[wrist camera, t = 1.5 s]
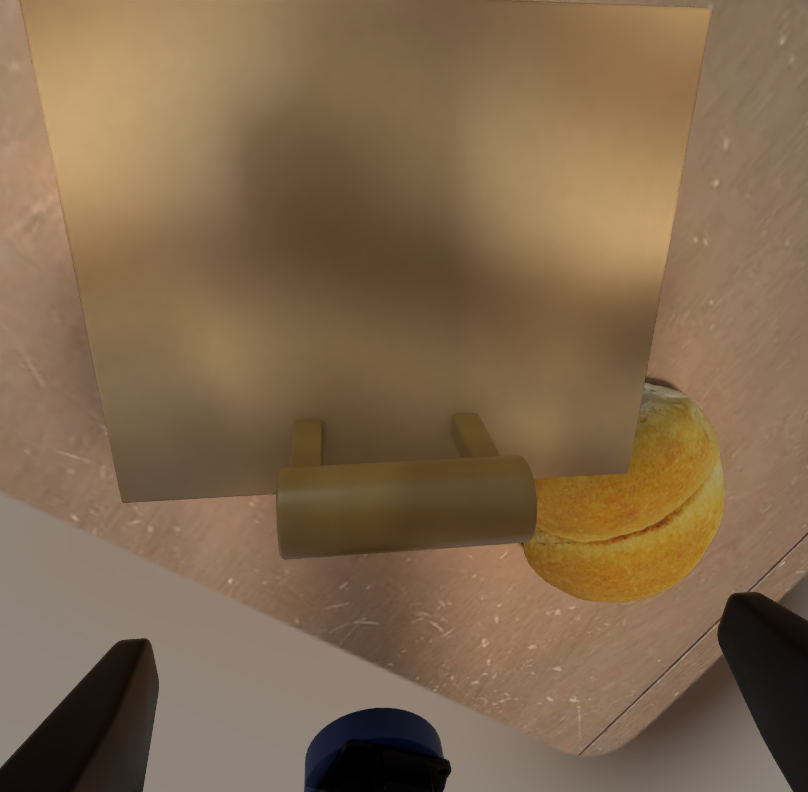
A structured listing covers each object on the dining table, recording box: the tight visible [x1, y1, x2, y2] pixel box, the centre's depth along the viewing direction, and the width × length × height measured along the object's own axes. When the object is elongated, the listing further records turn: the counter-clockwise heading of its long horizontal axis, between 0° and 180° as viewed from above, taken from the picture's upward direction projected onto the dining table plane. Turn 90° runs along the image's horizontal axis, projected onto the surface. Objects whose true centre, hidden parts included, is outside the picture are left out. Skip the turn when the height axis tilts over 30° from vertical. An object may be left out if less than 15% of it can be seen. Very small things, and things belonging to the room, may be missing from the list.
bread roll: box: [523, 382, 725, 602], centre depth 24 cm, size 8×9×4 cm
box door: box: [19, 0, 712, 560], centre depth 13 cm, size 11×14×5 cm
